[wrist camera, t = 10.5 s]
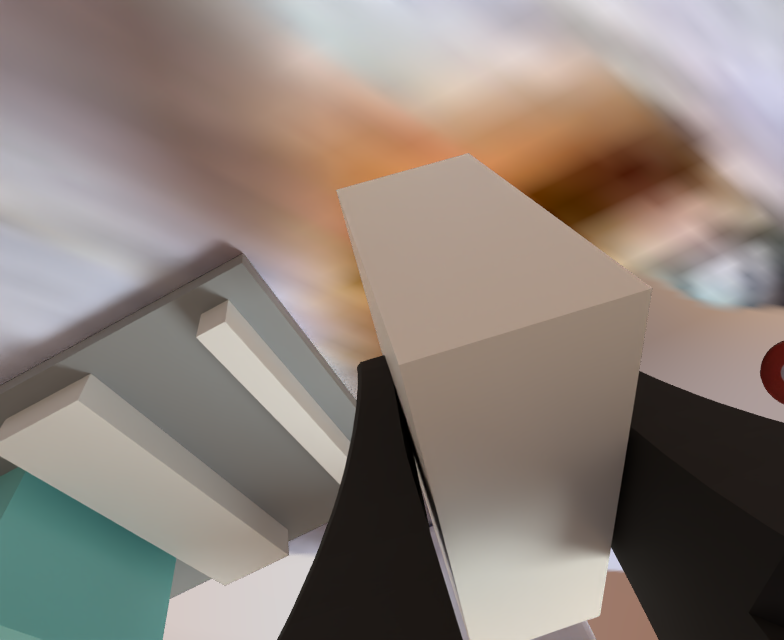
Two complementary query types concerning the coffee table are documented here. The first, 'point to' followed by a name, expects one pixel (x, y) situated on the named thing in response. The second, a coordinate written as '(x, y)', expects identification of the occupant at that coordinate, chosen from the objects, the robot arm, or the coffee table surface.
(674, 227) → the coffee table surface
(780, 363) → the toy fire truck
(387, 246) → the beige rectangular block
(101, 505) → the ribbed slotted plate
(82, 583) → the teal rectangular block
